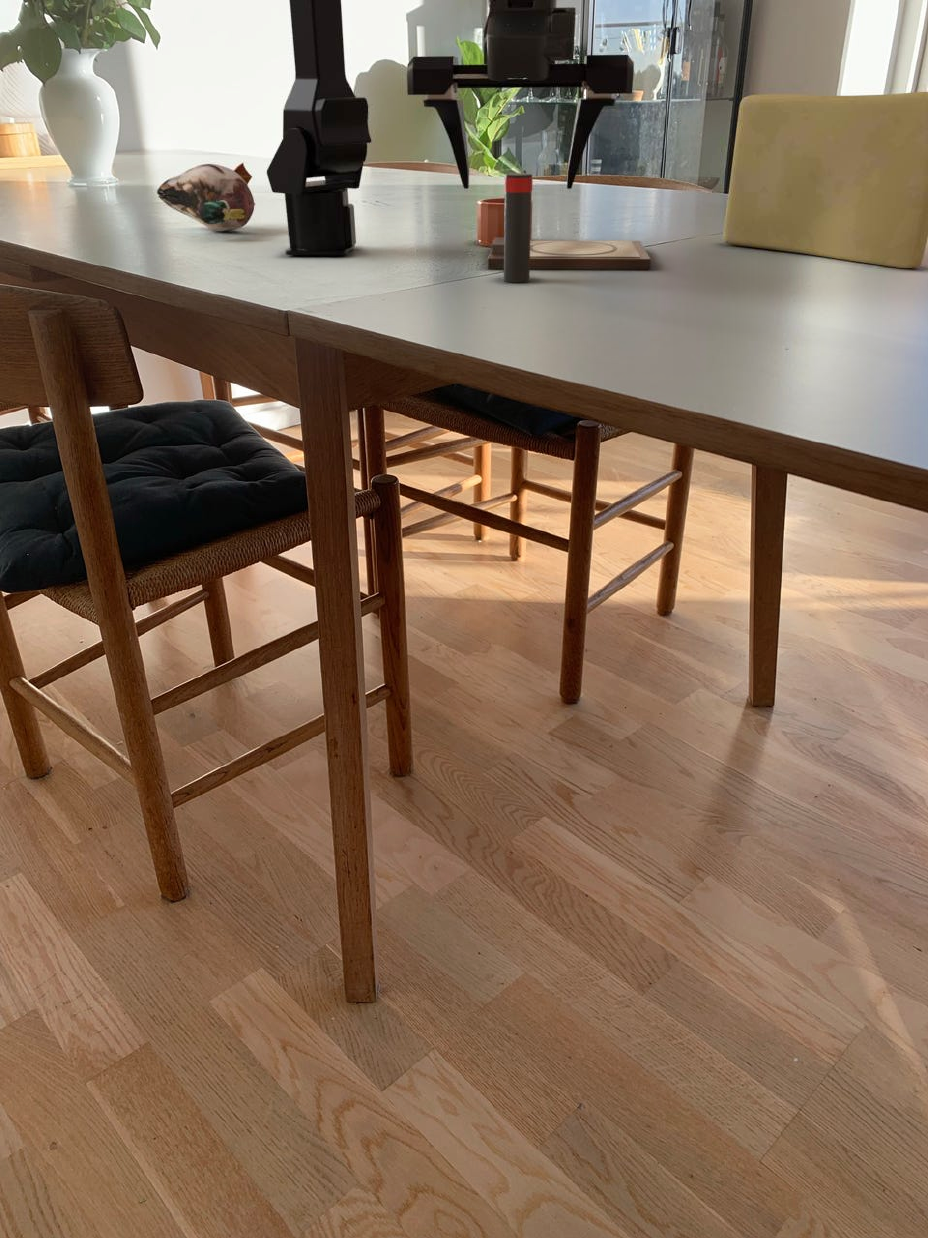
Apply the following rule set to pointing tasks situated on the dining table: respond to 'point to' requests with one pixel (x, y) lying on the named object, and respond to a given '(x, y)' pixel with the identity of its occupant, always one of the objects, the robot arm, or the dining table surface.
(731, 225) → the cheese
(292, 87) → the robot arm
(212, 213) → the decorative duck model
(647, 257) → the wooden board with ring
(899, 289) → the dining table surface
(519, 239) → the marker
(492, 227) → the pen pot
